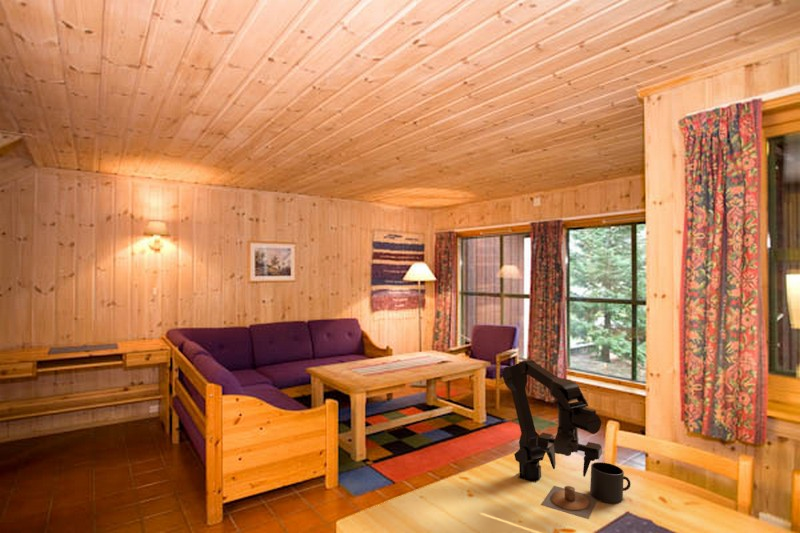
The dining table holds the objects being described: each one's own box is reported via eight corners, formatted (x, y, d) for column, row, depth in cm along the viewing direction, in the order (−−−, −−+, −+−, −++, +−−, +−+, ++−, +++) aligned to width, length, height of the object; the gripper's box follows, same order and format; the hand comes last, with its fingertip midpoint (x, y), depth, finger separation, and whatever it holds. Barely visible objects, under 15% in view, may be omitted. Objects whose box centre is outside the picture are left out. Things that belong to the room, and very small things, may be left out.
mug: (636, 506, 135) (637, 476, 135) (596, 502, 136) (597, 473, 136) (623, 491, 144) (624, 464, 144) (586, 488, 145) (587, 460, 145)
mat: (540, 506, 136) (540, 504, 136) (553, 487, 147) (553, 485, 147) (588, 520, 128) (588, 518, 128) (598, 499, 139) (598, 497, 139)
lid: (546, 504, 136) (546, 491, 136) (557, 488, 145) (556, 476, 145) (584, 514, 130) (583, 501, 130) (592, 498, 139) (592, 485, 139)
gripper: (530, 425, 136) (531, 475, 136) (594, 437, 126) (595, 492, 126) (541, 414, 145) (542, 461, 146) (602, 425, 135) (603, 476, 135)
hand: (568, 472), depth 138 cm, fingers open, 9 cm apart
